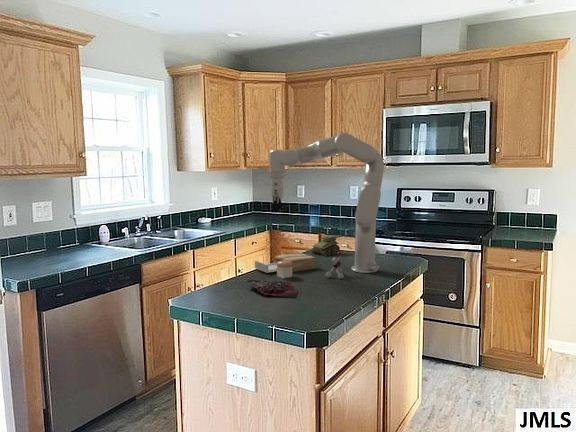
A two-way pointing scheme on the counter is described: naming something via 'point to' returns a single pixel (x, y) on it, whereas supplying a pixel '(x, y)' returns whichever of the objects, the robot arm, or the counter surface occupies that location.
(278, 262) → the peach dome
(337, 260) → the molecular model
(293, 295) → the fabric swatch
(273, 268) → the tray
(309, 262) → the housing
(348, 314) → the counter surface
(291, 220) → the counter surface
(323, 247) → the toy
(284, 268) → the block
